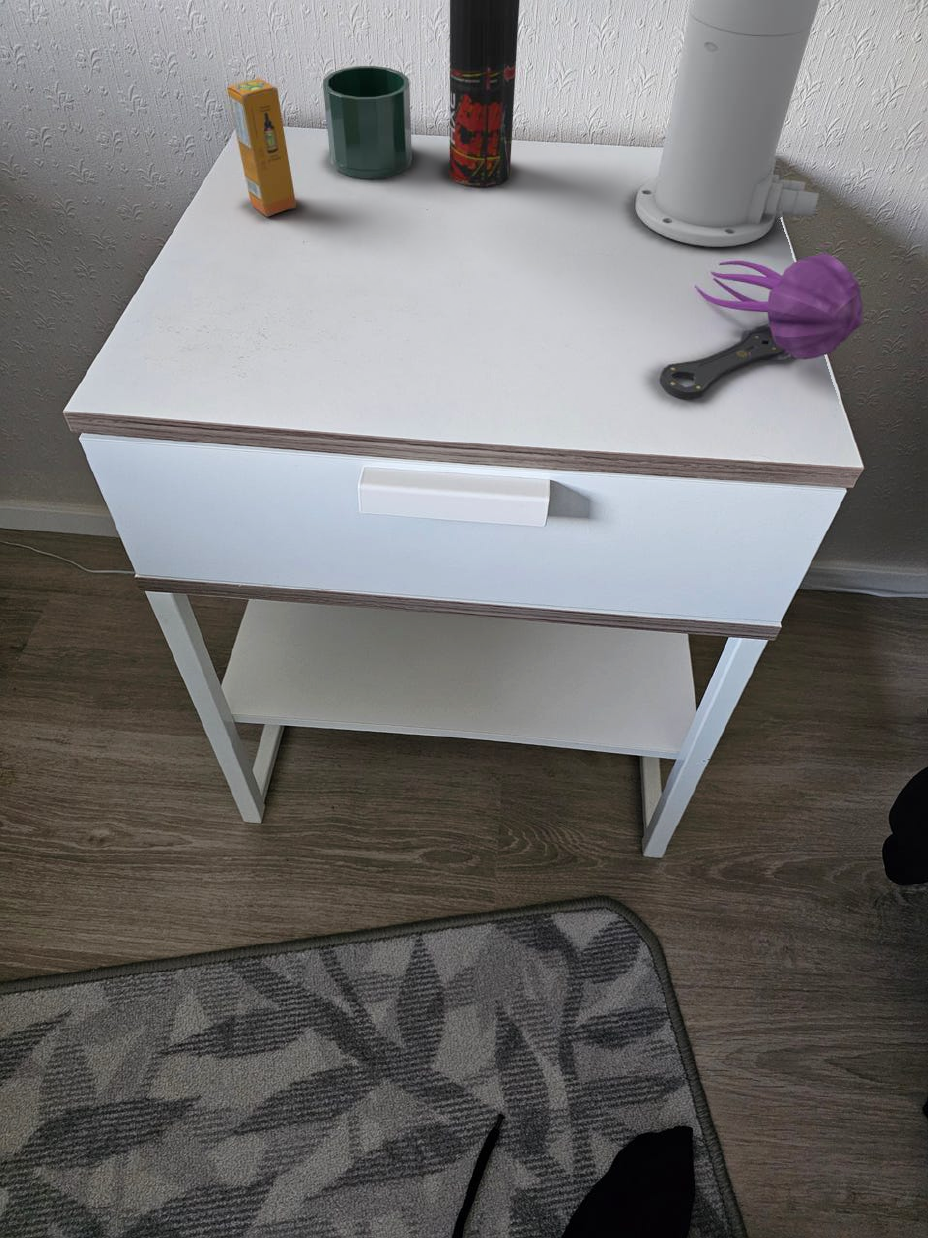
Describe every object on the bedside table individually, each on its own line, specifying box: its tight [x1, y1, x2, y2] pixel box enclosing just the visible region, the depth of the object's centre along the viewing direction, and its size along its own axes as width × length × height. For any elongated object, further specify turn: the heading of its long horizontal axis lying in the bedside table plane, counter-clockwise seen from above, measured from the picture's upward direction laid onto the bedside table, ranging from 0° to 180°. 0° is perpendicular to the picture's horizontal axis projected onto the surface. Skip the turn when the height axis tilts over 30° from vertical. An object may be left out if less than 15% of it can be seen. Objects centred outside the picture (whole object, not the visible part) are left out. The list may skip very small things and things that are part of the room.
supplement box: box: [226, 77, 297, 218], centre depth 74 cm, size 3×3×10 cm
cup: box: [322, 65, 413, 180], centre depth 81 cm, size 8×8×7 cm
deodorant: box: [449, 0, 520, 188], centre depth 77 cm, size 6×6×15 cm
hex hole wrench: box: [659, 322, 792, 400], centre depth 65 cm, size 4×20×1 cm, turn 125°
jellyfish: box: [694, 252, 863, 360], centre depth 63 cm, size 7×7×15 cm
